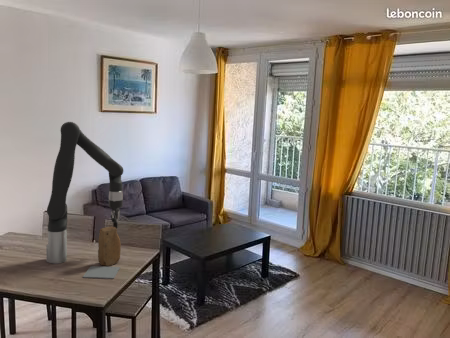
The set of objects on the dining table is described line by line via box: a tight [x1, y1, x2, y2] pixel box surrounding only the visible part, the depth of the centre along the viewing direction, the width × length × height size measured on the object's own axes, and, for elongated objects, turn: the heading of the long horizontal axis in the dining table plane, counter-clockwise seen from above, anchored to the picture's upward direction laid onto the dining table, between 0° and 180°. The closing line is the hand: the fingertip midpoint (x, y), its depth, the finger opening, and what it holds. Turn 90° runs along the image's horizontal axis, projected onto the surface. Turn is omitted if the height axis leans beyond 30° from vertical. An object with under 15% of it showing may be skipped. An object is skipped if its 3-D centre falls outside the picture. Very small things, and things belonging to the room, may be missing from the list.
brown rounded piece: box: [97, 225, 122, 267], centre depth 202 cm, size 11×8×20 cm
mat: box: [82, 265, 121, 280], centre depth 191 cm, size 15×13×1 cm
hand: (115, 228), depth 213 cm, fingers closed
